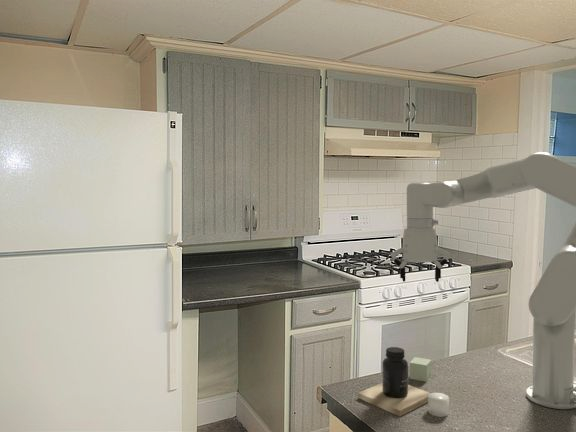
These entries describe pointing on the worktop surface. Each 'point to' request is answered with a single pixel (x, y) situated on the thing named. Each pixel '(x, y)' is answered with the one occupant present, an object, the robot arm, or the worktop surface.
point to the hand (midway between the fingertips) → (420, 280)
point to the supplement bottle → (395, 373)
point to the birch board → (395, 399)
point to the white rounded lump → (438, 404)
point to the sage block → (420, 369)
